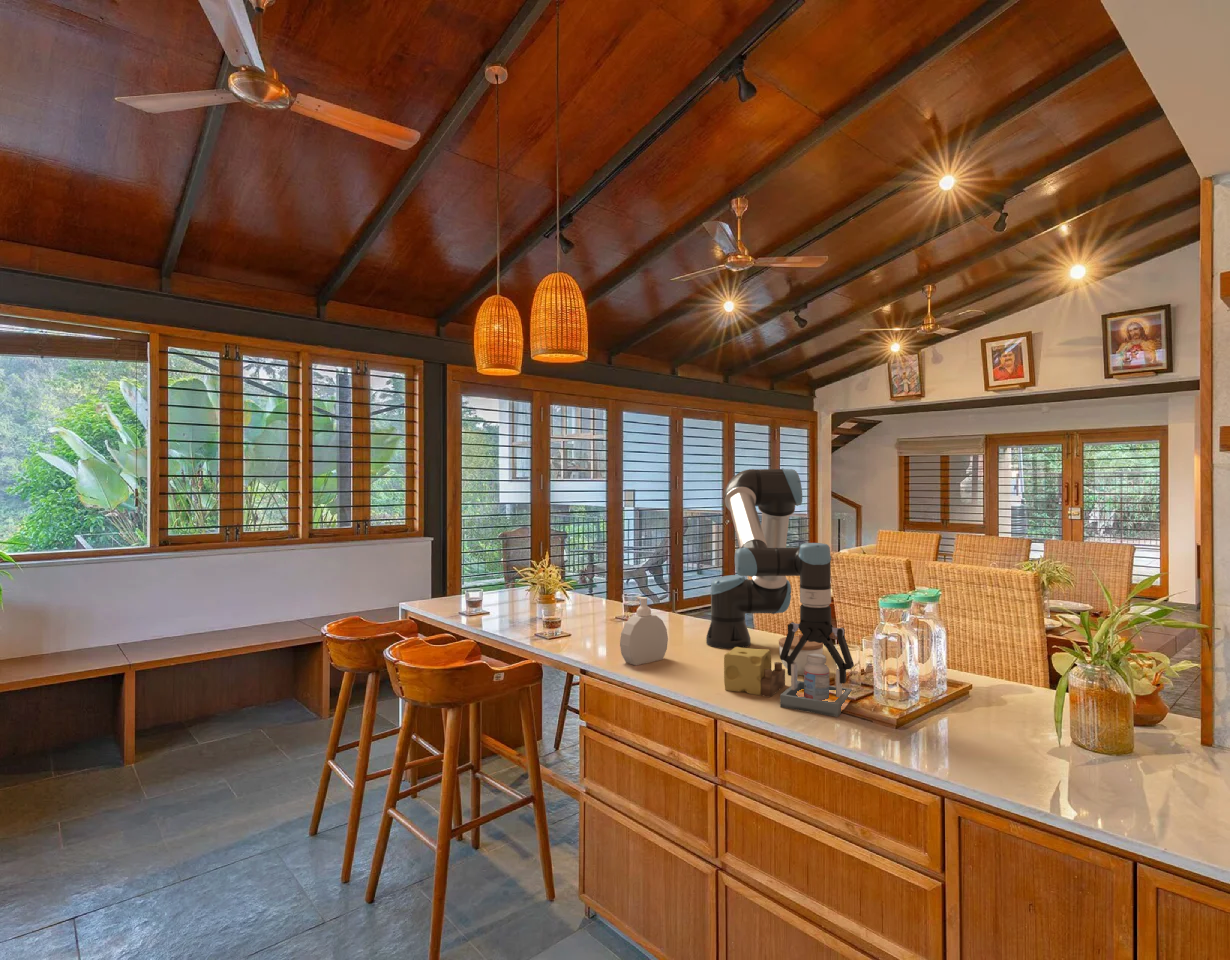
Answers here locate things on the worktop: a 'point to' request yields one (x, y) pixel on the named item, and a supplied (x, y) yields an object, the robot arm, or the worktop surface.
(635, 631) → the soap bottle
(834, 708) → the tray
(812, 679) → the pill bottle
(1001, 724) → the worktop surface
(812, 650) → the lidded bowl
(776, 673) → the stop rail
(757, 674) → the cheese
